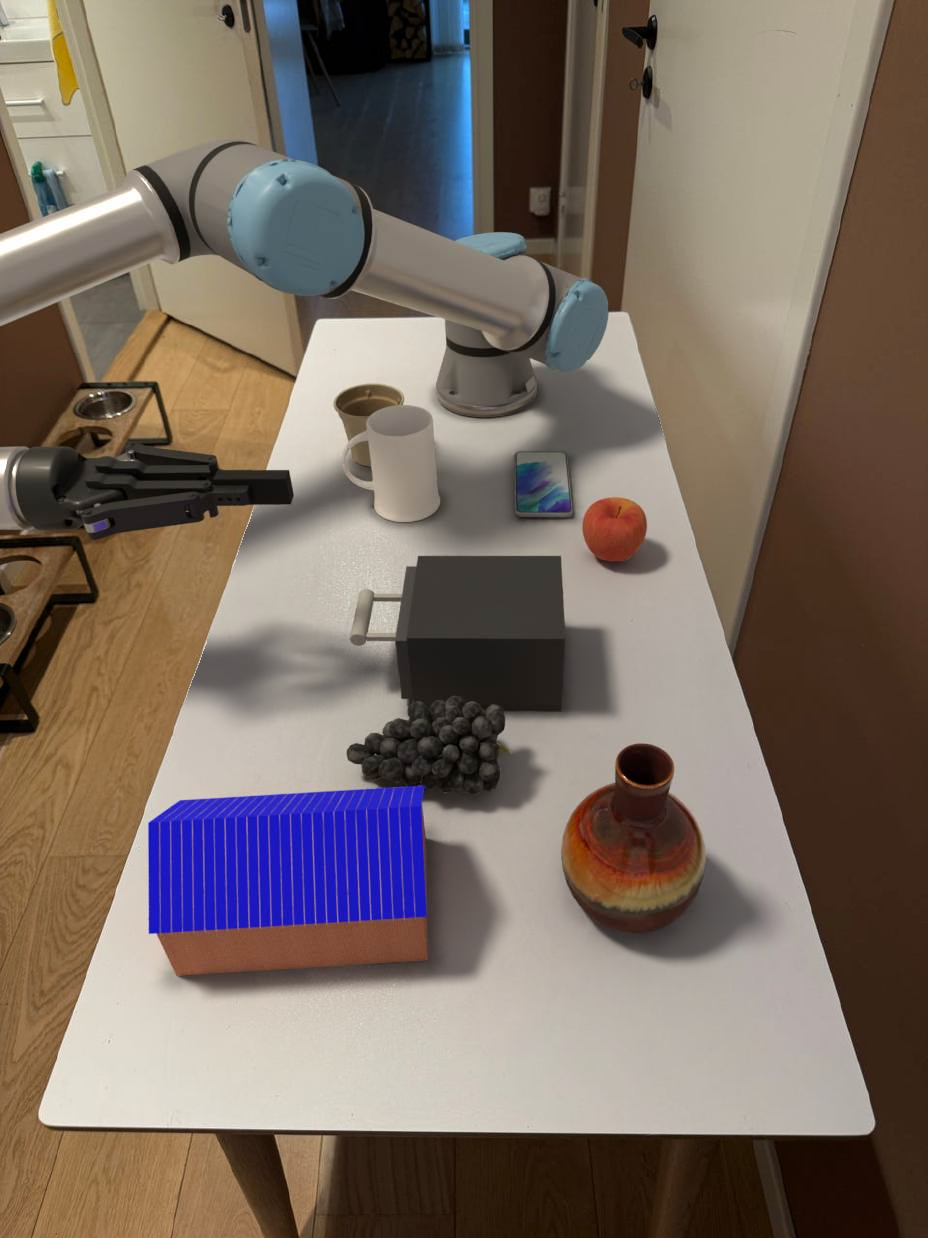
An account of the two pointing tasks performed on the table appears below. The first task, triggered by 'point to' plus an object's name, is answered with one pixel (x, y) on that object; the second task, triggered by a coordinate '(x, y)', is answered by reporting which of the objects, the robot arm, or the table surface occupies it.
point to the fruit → (437, 747)
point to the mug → (400, 463)
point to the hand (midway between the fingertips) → (289, 487)
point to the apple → (614, 528)
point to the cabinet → (488, 631)
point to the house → (290, 880)
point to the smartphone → (542, 484)
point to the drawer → (361, 633)
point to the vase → (634, 846)
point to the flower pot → (363, 412)
